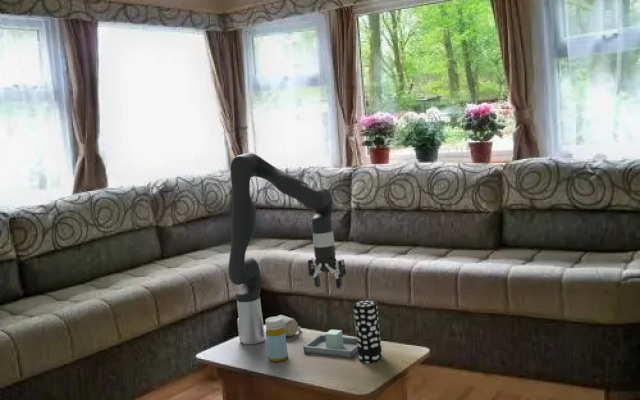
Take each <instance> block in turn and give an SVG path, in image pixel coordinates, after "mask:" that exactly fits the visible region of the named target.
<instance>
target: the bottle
mask: <svg viewBox="0 0 640 400" xmlns="http://www.w3.org/2000/svg"><path fill="white" fill-rule="evenodd" d="M265 328H266V330H265V339H266V340H265V341H266V348H267V354H268V359H269V360H270V361H271V362H273V363H279V362H283V361H285V360H287V358H288V356H289V355H288V354H289V353H288V346H287V338H286V337H287V336H286V335H285V329H284V327H283V320H282V317H279V316H278V315H277V316H270V317H268V318H266V319H265Z"/></svg>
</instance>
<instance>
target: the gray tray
mask: <svg viewBox="0 0 640 400" xmlns="http://www.w3.org/2000/svg"><path fill="white" fill-rule="evenodd" d="M343 345H344V346H343V347H342V348H340V349H330V348H327V347H326V338H325V334H318V335H317V336H316V337H315V338H313V339H312V340H310V341H309V342H307V343H306V344H305V345H303V346H302V348H303V353H304V354H308V355H309V354H310V355H318V356H327V357H337V358H346V359H352V358H354V357H355V356H356V355H358V348H357V338H356V337H350V336H349V337H348V336H343Z"/></svg>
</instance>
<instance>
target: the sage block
mask: <svg viewBox="0 0 640 400" xmlns="http://www.w3.org/2000/svg"><path fill="white" fill-rule="evenodd" d="M324 335H325V338H326V347H327V348H330V349H340V348H342V347H343V346H344V345H343V337H344V336H343V330H342V329H341V330H340V329H329V330H328V331H327V332H326V333H325V334H324Z"/></svg>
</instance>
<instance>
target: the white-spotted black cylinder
mask: <svg viewBox="0 0 640 400" xmlns="http://www.w3.org/2000/svg"><path fill="white" fill-rule="evenodd" d="M352 307H353V317H354V327H355V335H356V337H355V338H357V348H358V353H357V355H358V357H357V358H358V361H359V362H361V363H362V364H375V363H377V362H378V363H379V362H380V361H382V359H383V350H382V341H381V340H382V339H381V330H380V320H379V309H378V301H376V300H374V299H373V300H372V299H364V300H363V299H362V300H361V299H360V300H358V301H355V302H354V303H353V304H352Z"/></svg>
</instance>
